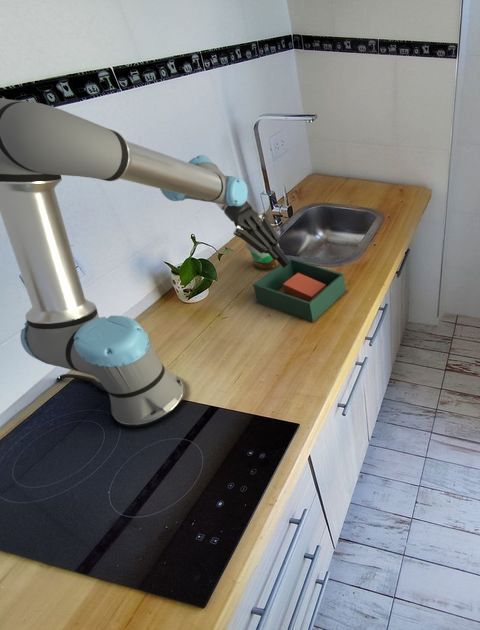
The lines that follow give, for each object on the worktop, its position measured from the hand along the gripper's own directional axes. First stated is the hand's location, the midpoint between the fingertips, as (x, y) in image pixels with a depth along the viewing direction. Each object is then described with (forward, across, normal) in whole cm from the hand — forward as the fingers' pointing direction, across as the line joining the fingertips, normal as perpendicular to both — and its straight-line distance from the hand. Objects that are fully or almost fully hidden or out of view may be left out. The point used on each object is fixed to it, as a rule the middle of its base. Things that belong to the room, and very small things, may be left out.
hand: (287, 265), depth 125 cm
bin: (+11, 0, -5) cm, 12 cm away
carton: (+5, 0, -5) cm, 8 cm away
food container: (-6, -8, -22) cm, 24 cm away
